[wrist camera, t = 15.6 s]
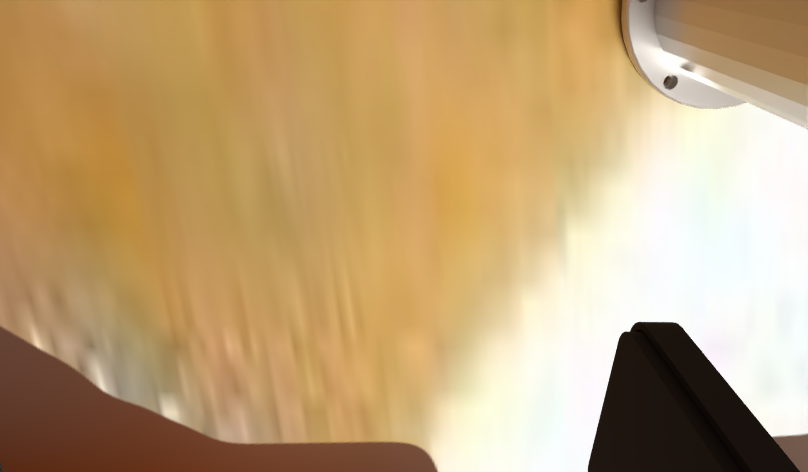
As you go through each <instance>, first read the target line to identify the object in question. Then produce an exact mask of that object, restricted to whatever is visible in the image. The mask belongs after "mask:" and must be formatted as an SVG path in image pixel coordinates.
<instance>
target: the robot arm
mask: <svg viewBox="0 0 808 472" xmlns="http://www.w3.org/2000/svg"><path fill="white" fill-rule="evenodd" d="M621 23H622V31H623V39H624V43H625V46H626V49H627V52H628V55H629V58H630V60H631V61H632V63H633V65H634V66H635V68H636V70H637V72H638V73H639V75H640V76H641V77H642V78H643V79H644V80H645V81H646V82H647V83H648V84H649V85H650V86H651V87H652V88H653V89H655V90H656V91H658V92H659V93H661V94H662V95H664V96H665V97H667V98H669V99H671V100H674V101H676V102H678V103H680V104H683V105H687V106H691V107H695V108H705V109H720V108H727V107H733V106H738V105H741V104H744V103H749V104H752V105H754V106H756V107H758V108H761V109H763V110H765V111H767V112H770V113H772V114H774V115H777V116H779V117H781V118H783V119H786V120H788V121H790V122H792V123H795V124H797V125H799V126H801V127H804V128H806V129H808V0H622V13H621ZM667 76H668V79H667V81H666V82H665V83H663V81H664V79H665V78H666V77H667ZM0 472H2V467H1V464H0ZM588 472H800V471H799V470H798V469H797V467H796V466H795V465H794V464H793V463H792V461H791V460H790V459H789V458H788V456H787V455H786V454H785V453H784V452H783V450H782V449H781V448H780V447H779V445H778V444H777V443H776V442H775V441H774V439H773V438H772V437H771V436H770V434H769V433H768V432H767V431H766V430H765V428H764V427H763V426H762V425H761V423H760V422H759V421H758V420H757V419H756V417H755V416H754V415H753V414H752V412H751V411H750V410H749V409H748V408H747V406H746V405H745V404H744V403H743V401H742V400H741V399H740V398H739V397H738V395H737V394H736V393H735V392H734V390H733V389H732V388H731V387H730V386H729V384H728V383H727V382H726V381H725V379H724V378H723V377H722V376H721V375H720V373H719V372H718V371H717V370H716V368H715V367H714V366H713V365H712V364H711V362H710V361H709V360H708V359H707V357H706V356H705V355H704V354H703V353H702V351H701V350H700V349H699V348H698V346H697V345H696V344H695V343H694V342H693V340H692V339H691V338H690V337H689V335H688V334H687V333H686V332H685V331H684V329H683V328H682V327H681V326H680V325H679V324H677V323H673V322H638V323H635V324H634V325H633V327H632V328H631V331H630V332H624V333H622V334H621V336H620V338H619V341H618V345H617V350H616V354H615V358H614V362H613V366H612V370H611V374H610V378H609V382H608V387H607V391H606V395H605V399H604V403H603V407H602V411H601V415H600V419H599V423H598V428H597V432H596V436H595V440H594V444H593V448H592V452H591V456H590V460H589V465H588Z"/></svg>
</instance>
